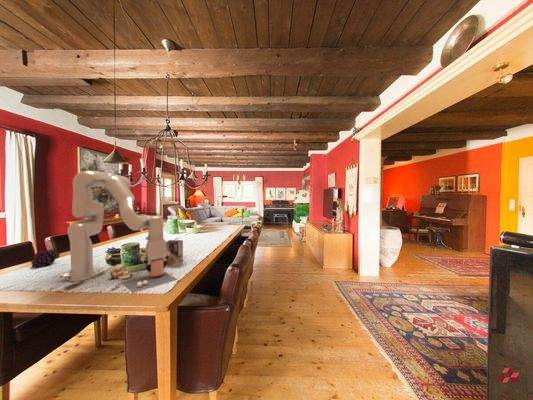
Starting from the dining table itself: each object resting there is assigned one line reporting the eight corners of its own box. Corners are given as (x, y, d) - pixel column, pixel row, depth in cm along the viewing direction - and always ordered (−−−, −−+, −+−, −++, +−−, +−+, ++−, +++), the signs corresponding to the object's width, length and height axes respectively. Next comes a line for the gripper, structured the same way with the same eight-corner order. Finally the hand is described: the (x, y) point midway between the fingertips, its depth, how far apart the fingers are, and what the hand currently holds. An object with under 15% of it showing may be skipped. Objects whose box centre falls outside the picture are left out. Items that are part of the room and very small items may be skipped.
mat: (132, 294, 106) (132, 292, 106) (120, 283, 118) (120, 282, 118) (177, 280, 122) (177, 279, 122) (163, 272, 134) (163, 271, 134)
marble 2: (143, 286, 113) (143, 281, 113) (141, 285, 114) (141, 280, 114) (148, 285, 115) (148, 280, 114) (147, 283, 116) (146, 279, 116)
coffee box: (183, 264, 149) (183, 240, 148) (178, 267, 142) (178, 242, 142) (170, 263, 150) (170, 239, 149) (165, 267, 143) (164, 241, 143)
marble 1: (137, 288, 111) (137, 283, 111) (136, 286, 112) (136, 282, 112) (143, 286, 113) (143, 282, 112) (141, 285, 114) (141, 280, 114)
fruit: (30, 273, 139) (51, 260, 154) (46, 270, 139) (66, 257, 153) (22, 258, 136) (45, 246, 151) (38, 256, 136) (60, 244, 150)
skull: (139, 272, 130) (130, 263, 123) (128, 290, 123) (118, 281, 116) (121, 270, 133) (111, 261, 126) (110, 287, 126) (98, 278, 119)
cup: (152, 277, 121) (152, 262, 121) (147, 273, 126) (147, 259, 126) (165, 273, 126) (165, 259, 126) (160, 270, 131) (159, 257, 131)
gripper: (141, 241, 116) (141, 275, 117) (174, 236, 129) (174, 267, 130) (136, 239, 121) (136, 271, 122) (168, 234, 134) (168, 264, 135)
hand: (156, 269), depth 126 cm, fingers closed on cup, 7 cm apart
